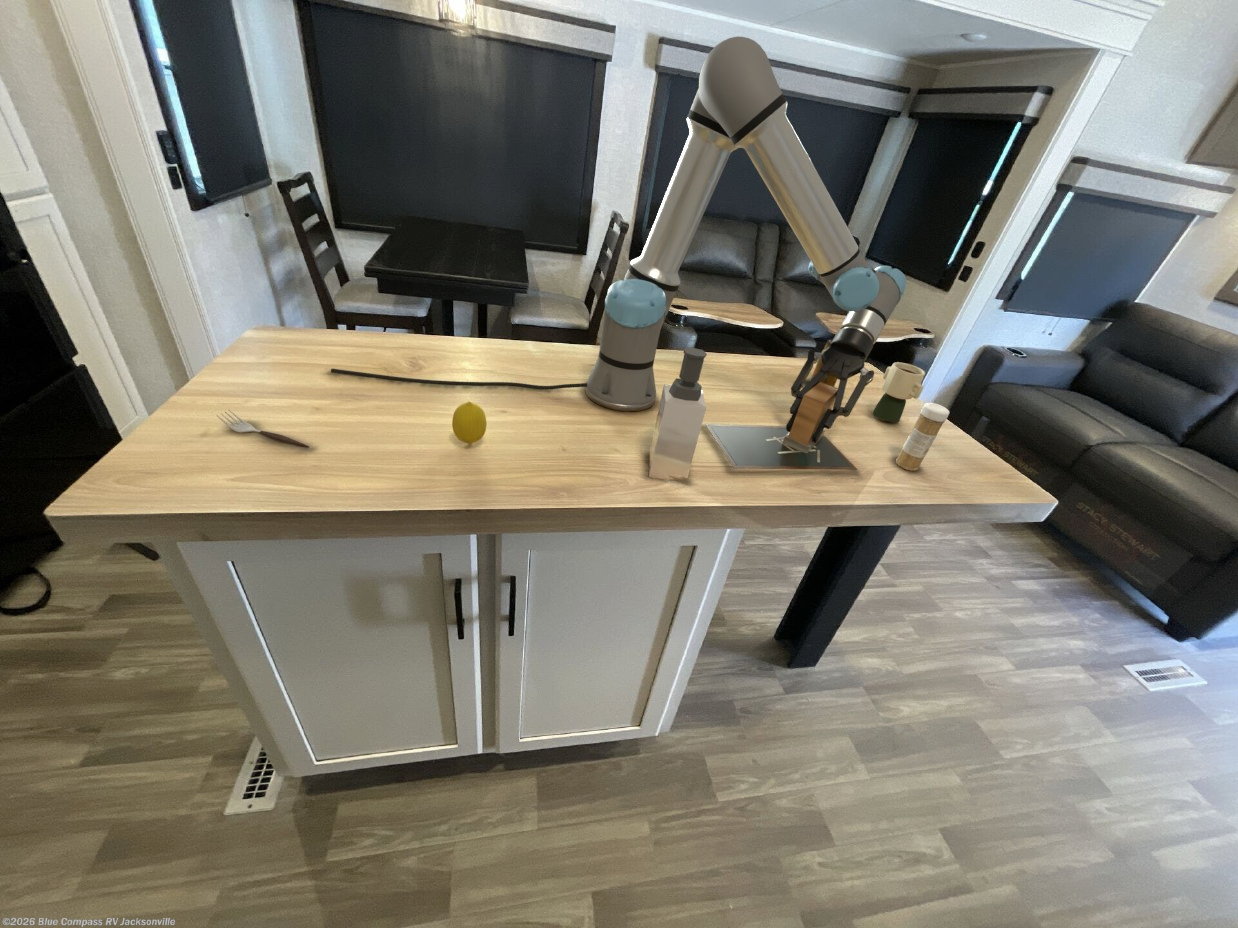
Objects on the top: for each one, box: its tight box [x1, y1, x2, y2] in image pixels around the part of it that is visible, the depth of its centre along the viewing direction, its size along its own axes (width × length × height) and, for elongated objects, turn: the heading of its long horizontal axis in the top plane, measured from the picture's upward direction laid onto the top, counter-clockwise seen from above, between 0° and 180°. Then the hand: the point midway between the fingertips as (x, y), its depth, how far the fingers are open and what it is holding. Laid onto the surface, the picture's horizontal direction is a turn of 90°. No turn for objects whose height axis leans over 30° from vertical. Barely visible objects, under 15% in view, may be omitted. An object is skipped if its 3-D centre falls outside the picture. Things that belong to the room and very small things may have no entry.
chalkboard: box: [704, 423, 858, 471], centre depth 105 cm, size 26×16×1 cm, turn 101°
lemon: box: [451, 401, 488, 445], centre depth 89 cm, size 6×6×8 cm
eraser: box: [783, 382, 838, 454], centre depth 105 cm, size 10×5×11 cm, turn 143°
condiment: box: [802, 339, 838, 387], centre depth 134 cm, size 7×8×12 cm
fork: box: [216, 409, 310, 449], centre depth 84 cm, size 3×16×2 cm, turn 73°
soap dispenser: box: [648, 346, 708, 482], centre depth 89 cm, size 6×9×22 cm
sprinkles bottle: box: [895, 402, 950, 472], centre depth 104 cm, size 5×5×14 cm
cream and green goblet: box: [872, 361, 926, 423], centre depth 123 cm, size 11×7×13 cm, turn 18°
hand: (801, 434), depth 104 cm, fingers open, 5 cm apart
